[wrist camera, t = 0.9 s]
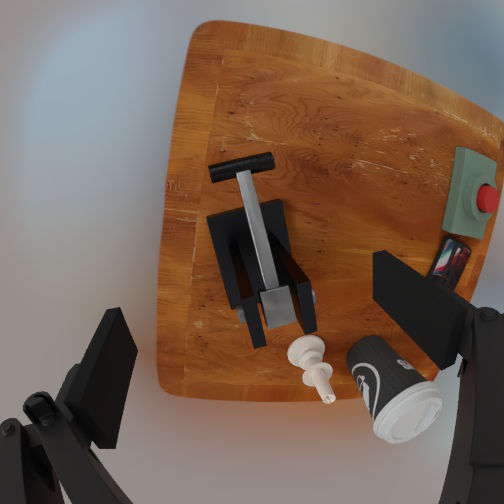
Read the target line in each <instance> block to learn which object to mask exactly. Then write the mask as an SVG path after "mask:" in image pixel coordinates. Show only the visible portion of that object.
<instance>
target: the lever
mask: <svg viewBox="0 0 504 504" xmlns="http://www.w3.org/2000/svg"><path fill="white" fill-rule="evenodd" d="M208 168H209V173H210V177H211V181H212V183H216V182H220V181H224V180H228V179H232V178H237V182H238V186H239V190H240V194H241V198H242V202H243V206H244V210H245V214H246V217H247V221H248V225H249V229H250V233H251V237H252V241H253V245H254V249H255V253H256V257H257V261H258V265H259V269H260V273H261V277H262V281H263V285H264V288H262V289H258V290H257V292H258V296H259V300H260V304H261V308H262V312H263V316H264V319H265V323H266V325H267V327H268V329H272V328H276V327H279V326H283V325H286V324H290V323H294V322H297V318H296V314H295V310H294V306H293V302H292V297H291V293H290V289H289V286H288V285H286V284H284V283H281V284H279V281H278V277H277V273H276V269H275V265H274V261H273V257H272V253H271V249H270V245H269V241H268V237H267V233H266V229H265V225H264V221H263V217H262V214H261V210H260V206H259V202H258V198H257V194H256V191H255V187H254V183H253V179H252V175H251V174H254V173H259V172H263V171H268V170H272V169H274V168H275V163H274V158H273V155H272V153H271V152H266V153H261V154H256V155H251V156H247V157H242V158H238V159H234V160H229V161H225V162H221V163H217V164H213V165H209V166H208Z"/></svg>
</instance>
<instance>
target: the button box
mask: <svg viewBox="0 0 504 504" xmlns="http://www.w3.org/2000/svg"><path fill="white" fill-rule="evenodd" d="M496 168H497V162H495V161H493V160H491V159H489V158H487V157H485V156H483V155H481V154H479V153H477V152H475V151H473V150H471V149H469V148H466V147H457V146H456V151H455V159H454V166H453V172H452V178H451V184H450V190H449V195H448V200H447V205H446V210H445V215H444V219H443V224H442V228H441V229H443V230H445V231H447V232H449V233H453V234H458V235H463V236H468V237H473V238H478V239H483V236H484V232H485V227H486V223H487V220H488V219H489V218H491V216H492V214H493V213H494V212H493V213H487V212H484V211H481V210H480V209H479V208H478V206H477V202H476V198H477V193H478V190H479V188H480V187H481V186H483V185H486V186H490V187H494V188H495V189H496V190H497V185H496V183H495V175H496Z"/></svg>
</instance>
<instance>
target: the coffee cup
mask: <svg viewBox="0 0 504 504" xmlns="http://www.w3.org/2000/svg"><path fill="white" fill-rule="evenodd" d="M347 365H348V367H349V369H350V371H351V373H352V375H353V377H354V380H355V382H356V384H357V386H358V388H359V390H360V392H361V395H362V397H363V399H364V401H365V403H366V406H367V408H368V410H369V412H370V414H371V417H372V419H373V421H374V425H373V430H374V433H375V434H376V435H377V436H378V437H380V438H382V439H384V440H387V441H388V442H390V443H393V444H397V443H402V442H405V441H407V440H409V439H412V438H413V437H415V436H417V435H418V434H420V433H421V432H422V431H424V430H425V429H426V428H427V427H428V426H429V425H430V424H431V423H432V422H433V421H434V420H435V419H436V417H437V416H438V414H439V412H440V410H441V407H442V401H441V393H440V389H439V387H438V385H437V384H436V383H435V382H431V381H427V380H426V379H425V378H424V377H423V376H422V375H421V374H420V373H419V372H418V371H417V370H415V369H414V368H413V367H412V366H411V365H410V364H409V363H408V362H407V361H406V360H405V359H404V358H402V357H401V356H400V355H399V354H398V353H397V352H396V351H395V350H394V349H393V348H392V347H391V346H389V345H388V344H387V343H386V342H385V341H384V340H383V339H382V338H381V337H379V336H368V337H365V338H363V339H361V340H359V341H358V342H357V343H355V344H354V345H353V346H352V348H351V349H350V351H349V353H348V355H347Z"/></svg>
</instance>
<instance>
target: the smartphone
mask: <svg viewBox="0 0 504 504" xmlns="http://www.w3.org/2000/svg"><path fill="white" fill-rule="evenodd" d="M470 254H471V249H470V248H469V247H468V246H466V245H464V244H463V243H461V242H459V241H457V240H456V239H454V238H452V237H450V236H446V237H445V238H444V240H443V242H442V245H441V247H440V249H439V251H438V254H437V256H436V258H435V261H434V263H433V265H432V267H431V269H430V271H429V274H428V276H427V279H428V280H429V281H431V282H432V283H434V284H435V283H439V284H442V285H445V286H447V287H448V288H450V289H451V290H453V291H454V289H455V287H456V285H457V283H458V281H459V279H460V277H461V275H462V273H463V270H464V268H465V266H466V264H467V261H468V259H469V257H470Z"/></svg>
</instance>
